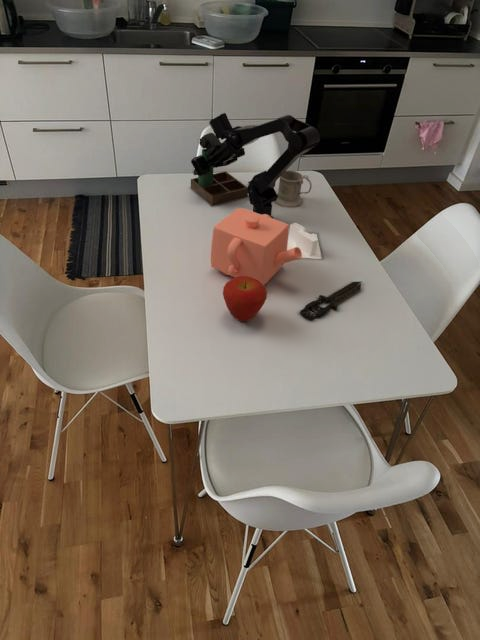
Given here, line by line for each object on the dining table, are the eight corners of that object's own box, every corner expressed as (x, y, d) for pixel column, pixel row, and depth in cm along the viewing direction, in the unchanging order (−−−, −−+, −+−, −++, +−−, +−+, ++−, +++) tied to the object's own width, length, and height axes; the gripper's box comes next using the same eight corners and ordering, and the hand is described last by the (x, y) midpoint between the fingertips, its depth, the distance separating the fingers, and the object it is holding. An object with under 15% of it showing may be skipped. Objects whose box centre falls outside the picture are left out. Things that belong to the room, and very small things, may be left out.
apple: (271, 316, 136) (276, 281, 128) (246, 336, 129) (249, 300, 121) (239, 298, 141) (242, 263, 133) (213, 317, 134) (215, 280, 126)
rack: (247, 196, 186) (248, 187, 184) (212, 206, 179) (212, 196, 177) (225, 179, 195) (225, 171, 193) (190, 188, 188) (190, 179, 186)
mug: (269, 198, 186) (272, 167, 178) (287, 191, 191) (291, 161, 183) (297, 214, 179) (302, 183, 171) (316, 206, 184) (321, 176, 176)
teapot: (311, 270, 153) (321, 218, 142) (277, 309, 138) (285, 255, 127) (241, 243, 162) (244, 192, 150) (202, 277, 147) (203, 224, 135)
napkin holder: (322, 258, 158) (325, 243, 155) (286, 257, 158) (289, 241, 154) (316, 233, 170) (319, 218, 166) (283, 231, 169) (285, 216, 165)
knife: (357, 281, 151) (358, 277, 150) (373, 292, 147) (374, 288, 146) (294, 310, 139) (295, 306, 138) (310, 323, 135) (311, 319, 134)
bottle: (208, 193, 185) (209, 154, 175) (195, 189, 186) (195, 151, 177) (215, 187, 188) (216, 149, 179) (202, 183, 190) (203, 146, 180)
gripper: (233, 122, 176) (210, 143, 188) (195, 135, 165) (172, 156, 177) (248, 151, 177) (224, 170, 189) (211, 166, 166) (188, 185, 179)
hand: (203, 170), depth 184 cm, fingers open, 9 cm apart
